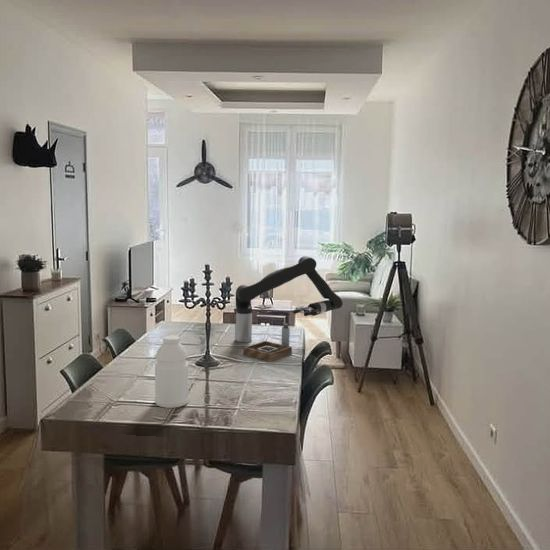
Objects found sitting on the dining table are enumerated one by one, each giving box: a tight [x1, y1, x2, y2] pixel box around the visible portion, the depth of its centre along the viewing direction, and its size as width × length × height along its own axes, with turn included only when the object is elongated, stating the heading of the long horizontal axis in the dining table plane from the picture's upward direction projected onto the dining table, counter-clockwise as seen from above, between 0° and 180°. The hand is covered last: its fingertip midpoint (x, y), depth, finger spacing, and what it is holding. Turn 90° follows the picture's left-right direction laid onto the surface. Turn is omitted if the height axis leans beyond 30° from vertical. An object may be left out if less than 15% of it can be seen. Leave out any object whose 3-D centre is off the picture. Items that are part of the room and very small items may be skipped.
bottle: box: [154, 334, 190, 409], centre depth 225 cm, size 14×14×28 cm
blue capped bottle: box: [281, 323, 290, 346], centre depth 309 cm, size 4×4×14 cm
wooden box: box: [242, 340, 293, 362], centre depth 298 cm, size 19×19×4 cm
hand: (298, 313), depth 315 cm, fingers open, 8 cm apart
